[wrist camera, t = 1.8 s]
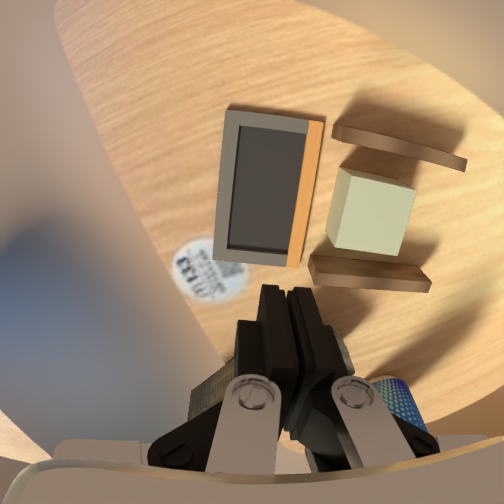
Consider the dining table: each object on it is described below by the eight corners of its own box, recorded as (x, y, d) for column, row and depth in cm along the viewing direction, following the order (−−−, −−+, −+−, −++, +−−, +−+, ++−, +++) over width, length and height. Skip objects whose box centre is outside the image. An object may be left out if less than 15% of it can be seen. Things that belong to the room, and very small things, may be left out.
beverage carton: (346, 337, 35) (361, 378, 29) (234, 414, 41) (233, 453, 35) (301, 299, 33) (311, 341, 27) (188, 389, 39) (181, 429, 33)
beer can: (409, 365, 38) (454, 461, 23) (398, 403, 41) (431, 490, 27) (350, 377, 38) (381, 485, 23) (345, 414, 41) (368, 509, 27)
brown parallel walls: (447, 152, 26) (467, 159, 23) (413, 275, 32) (427, 292, 29) (333, 124, 25) (345, 126, 22) (307, 266, 31) (314, 284, 28)
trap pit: (322, 122, 25) (323, 122, 25) (297, 265, 31) (298, 268, 30) (226, 109, 25) (225, 109, 24) (213, 256, 30) (212, 259, 30)
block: (397, 179, 28) (416, 190, 24) (381, 238, 30) (397, 256, 26) (338, 166, 27) (351, 175, 24) (324, 229, 30) (334, 247, 26)
